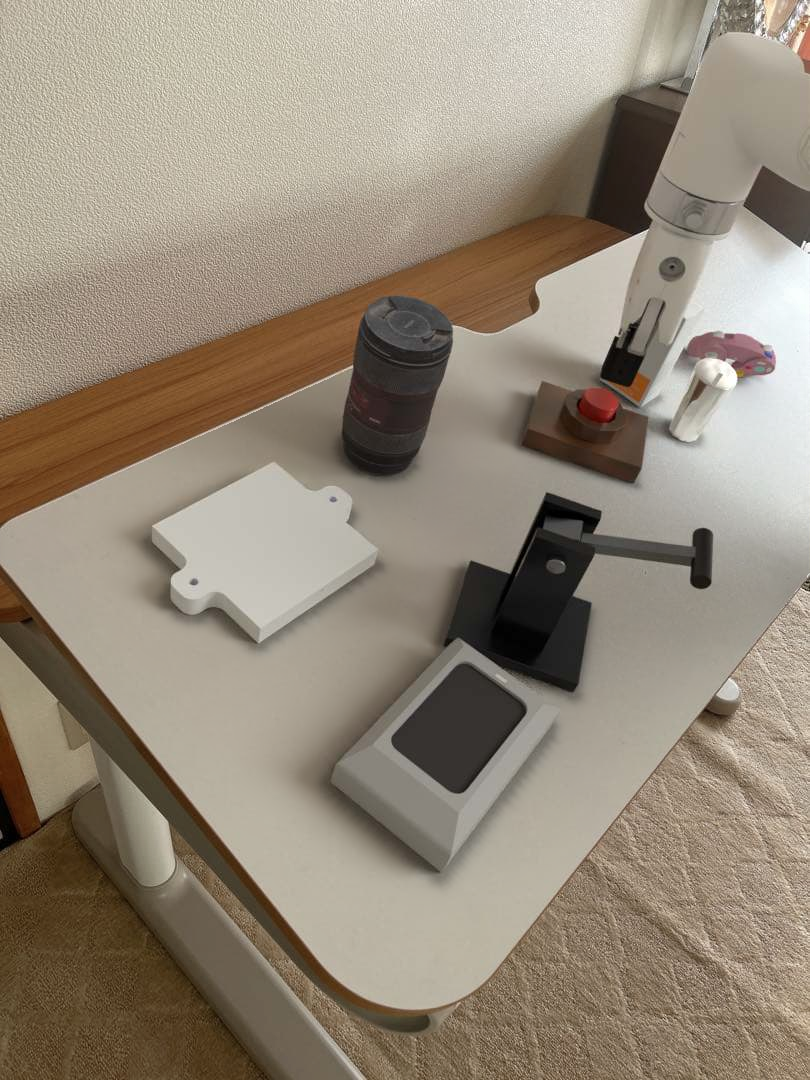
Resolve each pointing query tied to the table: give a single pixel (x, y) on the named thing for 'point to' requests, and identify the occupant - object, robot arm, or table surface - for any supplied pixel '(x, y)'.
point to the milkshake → (702, 398)
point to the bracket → (532, 601)
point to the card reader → (445, 751)
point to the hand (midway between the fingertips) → (615, 378)
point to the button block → (586, 433)
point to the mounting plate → (262, 550)
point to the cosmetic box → (659, 361)
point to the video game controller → (734, 352)
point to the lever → (646, 548)
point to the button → (598, 405)
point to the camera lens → (394, 382)
